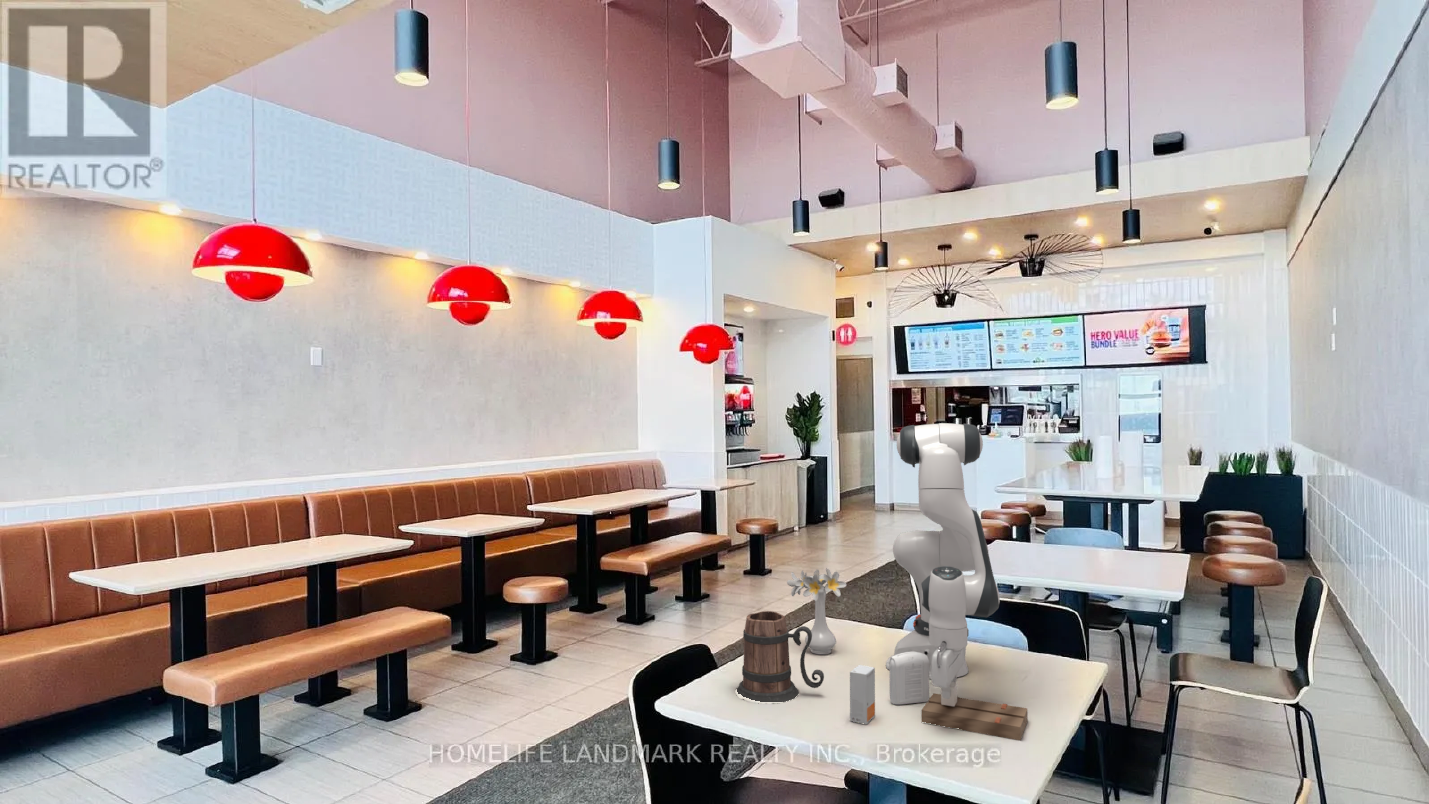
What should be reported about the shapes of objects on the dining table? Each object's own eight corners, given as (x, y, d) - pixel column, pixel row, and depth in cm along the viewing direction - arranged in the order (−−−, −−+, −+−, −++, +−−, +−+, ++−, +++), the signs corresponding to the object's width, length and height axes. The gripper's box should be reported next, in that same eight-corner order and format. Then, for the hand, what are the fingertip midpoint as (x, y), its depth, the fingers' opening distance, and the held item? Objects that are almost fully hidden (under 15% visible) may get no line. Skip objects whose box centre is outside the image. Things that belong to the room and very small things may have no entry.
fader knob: (941, 711, 190) (940, 685, 190) (944, 706, 193) (944, 680, 193) (954, 713, 188) (953, 687, 188) (957, 708, 191) (956, 682, 191)
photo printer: (923, 696, 204) (923, 648, 204) (932, 702, 200) (931, 653, 200) (887, 700, 202) (886, 651, 202) (894, 706, 198) (894, 657, 198)
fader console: (921, 722, 188) (921, 709, 188) (933, 705, 198) (933, 692, 198) (1020, 740, 177) (1020, 726, 177) (1027, 721, 188) (1027, 707, 188)
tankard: (727, 700, 203) (726, 622, 203) (743, 678, 220) (742, 606, 220) (819, 709, 197) (817, 628, 197) (828, 685, 213) (827, 610, 213)
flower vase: (797, 642, 251) (795, 563, 251) (853, 649, 243) (852, 567, 243) (782, 654, 240) (780, 571, 240) (841, 662, 232) (839, 576, 231)
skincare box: (866, 725, 187) (866, 674, 187) (849, 722, 189) (848, 671, 189) (876, 716, 192) (875, 667, 192) (859, 713, 194) (858, 664, 194)
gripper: (952, 650, 180) (953, 711, 180) (970, 627, 198) (970, 682, 198) (924, 647, 183) (925, 707, 183) (944, 624, 201) (945, 678, 201)
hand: (949, 694), depth 190 cm, fingers closed on fader knob, 3 cm apart
